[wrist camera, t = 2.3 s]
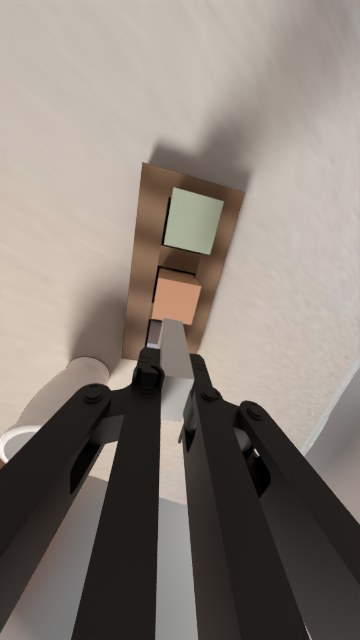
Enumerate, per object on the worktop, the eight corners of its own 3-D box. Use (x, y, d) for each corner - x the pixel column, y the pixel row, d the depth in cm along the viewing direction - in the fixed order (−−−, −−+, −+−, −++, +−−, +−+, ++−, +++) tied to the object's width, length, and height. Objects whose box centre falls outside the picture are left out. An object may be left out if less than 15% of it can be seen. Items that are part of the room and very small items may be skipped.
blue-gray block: (151, 319, 30) (147, 342, 23) (180, 324, 31) (185, 348, 24) (147, 344, 32) (142, 373, 25) (174, 348, 33) (177, 377, 26)
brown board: (145, 170, 24) (142, 162, 21) (236, 197, 26) (244, 192, 23) (124, 349, 35) (121, 358, 32) (190, 357, 37) (192, 367, 34)
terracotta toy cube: (160, 267, 27) (158, 277, 20) (192, 274, 28) (201, 286, 21) (154, 299, 29) (151, 318, 22) (185, 305, 30) (191, 325, 23)
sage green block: (171, 202, 24) (173, 187, 17) (207, 211, 24) (224, 201, 18) (164, 242, 26) (163, 244, 19) (198, 250, 26) (209, 254, 20)
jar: (105, 399, 39) (74, 483, 26) (55, 384, 37) (-10, 470, 23) (122, 362, 36) (96, 438, 22) (68, 343, 33) (1, 416, 20)
